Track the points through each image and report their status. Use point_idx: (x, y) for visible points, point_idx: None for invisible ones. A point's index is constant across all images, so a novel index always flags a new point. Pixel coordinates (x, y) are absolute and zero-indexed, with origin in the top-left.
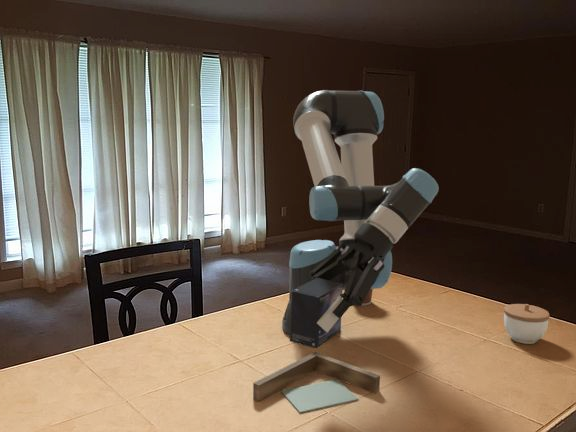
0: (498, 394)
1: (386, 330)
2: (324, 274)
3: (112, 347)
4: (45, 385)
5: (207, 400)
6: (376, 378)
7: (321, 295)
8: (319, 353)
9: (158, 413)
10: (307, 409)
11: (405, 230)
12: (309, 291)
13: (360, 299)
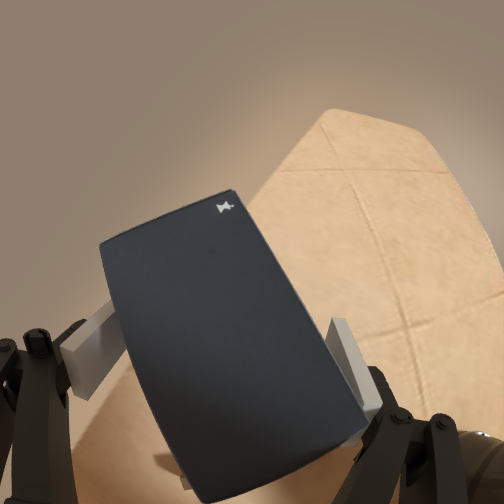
0: None
1: None
2: (359, 468)
3: (460, 203)
4: (390, 138)
5: (308, 234)
6: (180, 479)
7: (103, 265)
8: (335, 448)
9: (302, 182)
10: None
11: None
12: (169, 241)
13: (11, 392)
